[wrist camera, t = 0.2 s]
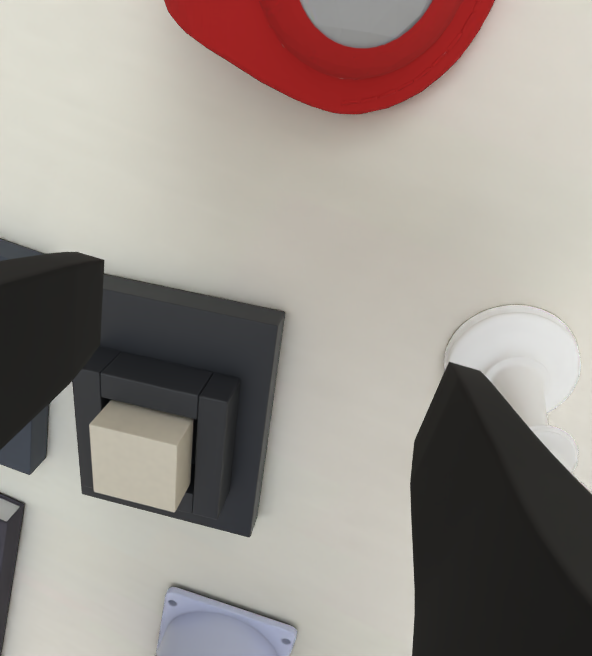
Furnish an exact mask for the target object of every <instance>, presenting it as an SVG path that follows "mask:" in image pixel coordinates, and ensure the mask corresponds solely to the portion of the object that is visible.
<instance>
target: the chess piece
mask: <svg viewBox="0 0 592 656" xmlns="http://www.w3.org/2000/svg"><path fill="white" fill-rule="evenodd" d="M449 362H452V363H456V364H459V365H462V366H466V367H469V368H473V369H476V370H479V371H481V372H482V373H483V374H484V375H485V376H486V377H487V378H488V379H489V380H490V382H491V383H492V384H493V385H494V386H495V387H496V389H497V390H498V391H499V392H500V393H501V394H502V396H503V397H504V398H505V399H506V401H507V402H508V403H509V404H510V405H511V407H512V408H513V409H514V410H515V411H516V413H517V414H518V415H519V416H520V417H521V419H522V420H523V421H524V422H525V423H526V424H527V426H528V427H529V428H530V429H531V430H532V431H533V433H534V434H535V435H536V436H537V437H538V438H539V439H540V441H541V442H542V443H543V444H544V445H545V446H546V447H547V448H548V449H549V451H550V452H551V453H552V454H553V455H554V456H555V457H556V458H557V459H558V460H559V461H560V462H561V463H562V464H563V465H564V466H565V468H566V469H567V470H568V471H569V472H570V473H571V474H572V472H573V471H574V469H575V468H576V465H577V462H578V454H579V451H578V446H577V443H576V442H575V440H574V439H573V437H572V436H571V435H570V434H569V433H567V432H566V431H564V430H562V429H560V428H558V427H555V426H551V425H549V423H548V416H547V413H548V412H550V411H552V410H553V409H555V408H556V407H558V406H559V405H560V404H561V403H563V402H564V401H565V400H566V399H567V397H568V396H569V395H570V394H571V392H572V391H573V389H574V388H575V386H576V384H577V381H578V379H579V375H580V370H581V359H580V354H579V350H578V345H577V342H576V339H575V337H574V335H573V333H572V332H571V330H570V329H569V328H568V327H567V325H566V324H565V323H564V322H563V321H561V320H560V319H559V318H558V317H556V316H555V315H553V314H551V313H549V312H547V311H545V310H542V309H539V308H536V307H532V306H526V305H505V306H499V307H495V308H491V309H488V310H486V311H483V312H481V313H479V314H477V315H475V316H473V317H472V318H470V319H469V320H467V321H466V322H465V323H464V324H463V325H462V326H460V328H459V329H458V330H457V331H456V332H455V333H454V335H453V336H452V338H451V340H450V341H449V344H448V346H447V349H446V352H445V358H444V369H445V370H446V368H447V365H448V363H449ZM572 475H573V474H572ZM573 476H574V475H573ZM574 477H575V476H574ZM575 478H576V477H575ZM576 479H577V478H576ZM577 480H578V479H577ZM578 481H579V480H578ZM579 482H580V481H579ZM580 483H581V484H582V485H583V486H584V487H585V488H586V489H587V490H588V491H589V492H590V493H591V494H592V492H591V491H590V490H589V489H588V488H587V487H586V486H585V485H584V484H583V483H582V482H580Z"/></svg>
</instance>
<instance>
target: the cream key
mask: <svg viewBox="0 0 592 656" xmlns="http://www.w3.org/2000/svg"><path fill="white" fill-rule="evenodd" d="M89 429H90V444H91V458H92V473H93V487H94V492H97V493H101V494H105V495H109V496H112V497H116V498H120V499H124V500H128V501H132V502H136V503H140V504H143V505H147V506H151V507H155V508H159V509H163V510H167V511H170V512H175V511H176V510H177V508H178V506H179V504H180V502H181V500H182V498H183V496H184V494H185V492H186V491H187V489H188V487H189V485H190V481H191V461H192V441H193V419H192V418H188V417H184V416H179V415H175V414H171V413H167V412H163V411H158V410H154V409H150V408H146V407H141V406H137V405H133V404H129V403H125V402H120V401H116V400H110V402H109V403H108V404H107V405H106V406H105V407H104V408H103V409H102V411H101V412H100V413H99V414H98V415H97V416H96V417H95V418H94V420H93V421H92V422H91V423H90V424H89Z"/></svg>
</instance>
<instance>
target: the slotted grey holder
mask: <svg viewBox="0 0 592 656" xmlns="http://www.w3.org/2000/svg"><path fill="white" fill-rule="evenodd" d="M42 254H43V253H40V252H37V251H34V250H32V249H29V248H26V247H23V246H20V245H17V244H14V243H11V242H8V241H6V240H3V239H0V261H2V260H8V259H15V258H21V257H28V256H35V255H42ZM48 407H49V404H48V405H47V406H46V407H45V408H44V409H43V410H42V411H41V412H40V413H39V414H38V415H37V416H35V417H34V418H33V419H32V420H31V421H30V422H29V423H28V424H27V425H26V426H25V427H24V428H23V429H22V430H21V431H20V432H19V433H18V434H17V435H16V436H14V437H13V438H12V439H11V440H10V441H9V442H8V443H7V444H6V445H5V446H4V447H3V448H2V449H1V450H0V464H1V465H4V466H6V467H9V468H12V469H15V470H17V471H20V472H23V473H25V474H28V475H30V474H31V473H32V472H33V471H34V470H35V469H36V468H37V467H38V466H39V465H40V464H41V462H42V461H43V460H44V459H45V458H46V447H47V427H48Z"/></svg>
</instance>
